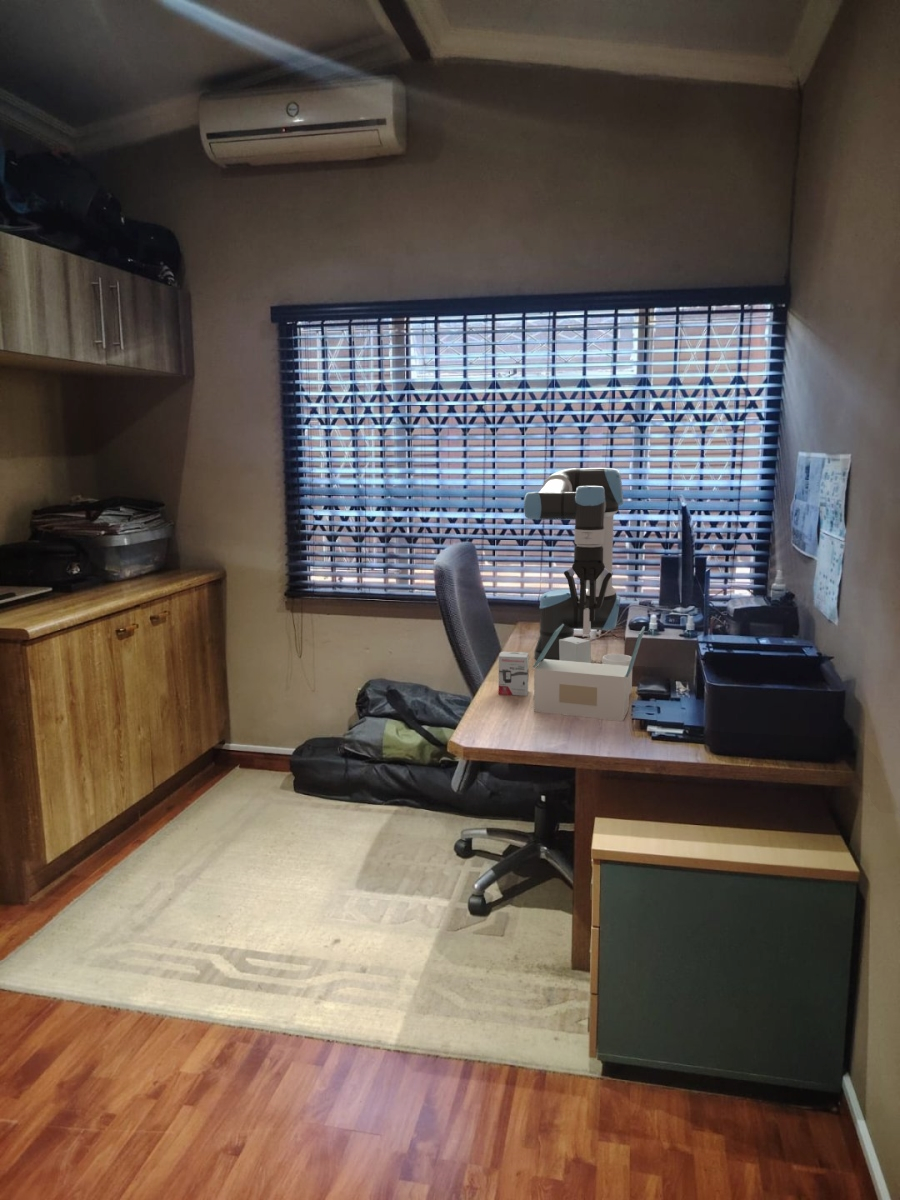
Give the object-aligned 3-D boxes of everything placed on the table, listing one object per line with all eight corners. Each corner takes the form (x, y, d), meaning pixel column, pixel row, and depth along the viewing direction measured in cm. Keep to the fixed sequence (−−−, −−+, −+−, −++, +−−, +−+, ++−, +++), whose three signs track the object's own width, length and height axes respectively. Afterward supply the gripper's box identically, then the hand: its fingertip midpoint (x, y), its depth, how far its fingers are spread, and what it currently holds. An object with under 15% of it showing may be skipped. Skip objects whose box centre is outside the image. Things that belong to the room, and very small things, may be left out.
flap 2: (630, 667, 210) (632, 667, 210) (625, 676, 201) (627, 677, 201) (643, 626, 207) (645, 626, 206) (638, 633, 198) (640, 634, 198)
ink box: (497, 694, 226) (497, 655, 224) (499, 689, 231) (499, 651, 229) (527, 696, 225) (527, 656, 222) (528, 691, 229) (529, 652, 227)
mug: (603, 700, 220) (603, 664, 218) (600, 688, 232) (601, 653, 230) (633, 701, 219) (635, 664, 217) (630, 688, 230) (631, 654, 228)
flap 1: (534, 667, 210) (532, 666, 210) (542, 659, 218) (541, 658, 218) (556, 632, 205) (554, 631, 206) (564, 624, 214) (562, 623, 214)
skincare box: (591, 689, 231) (593, 640, 228) (576, 692, 227) (577, 643, 225) (572, 682, 237) (573, 635, 235) (557, 685, 234) (558, 638, 231)
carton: (543, 699, 221) (544, 659, 219) (628, 708, 213) (630, 666, 211) (533, 711, 211) (534, 669, 209) (622, 721, 203) (624, 677, 200)
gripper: (561, 546, 202) (559, 634, 206) (611, 547, 197) (609, 637, 202) (567, 543, 209) (565, 628, 213) (616, 544, 204) (613, 631, 208)
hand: (586, 632), depth 207 cm, fingers closed
